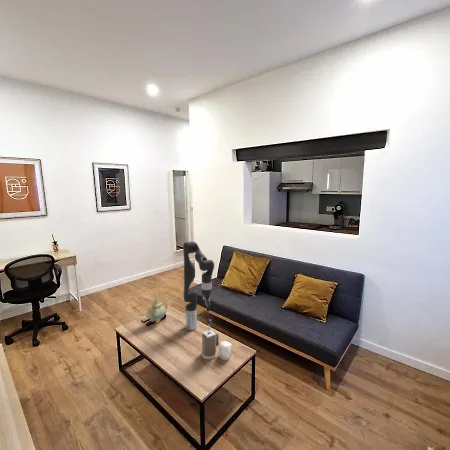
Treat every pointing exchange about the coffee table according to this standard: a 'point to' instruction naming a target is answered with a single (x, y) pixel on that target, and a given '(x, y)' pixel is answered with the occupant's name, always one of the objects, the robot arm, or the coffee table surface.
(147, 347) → the coffee table surface
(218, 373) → the coffee table surface
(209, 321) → the plunger
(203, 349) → the carafe
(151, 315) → the teapot
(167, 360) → the coffee table surface
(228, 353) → the mug
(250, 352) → the coffee table surface
